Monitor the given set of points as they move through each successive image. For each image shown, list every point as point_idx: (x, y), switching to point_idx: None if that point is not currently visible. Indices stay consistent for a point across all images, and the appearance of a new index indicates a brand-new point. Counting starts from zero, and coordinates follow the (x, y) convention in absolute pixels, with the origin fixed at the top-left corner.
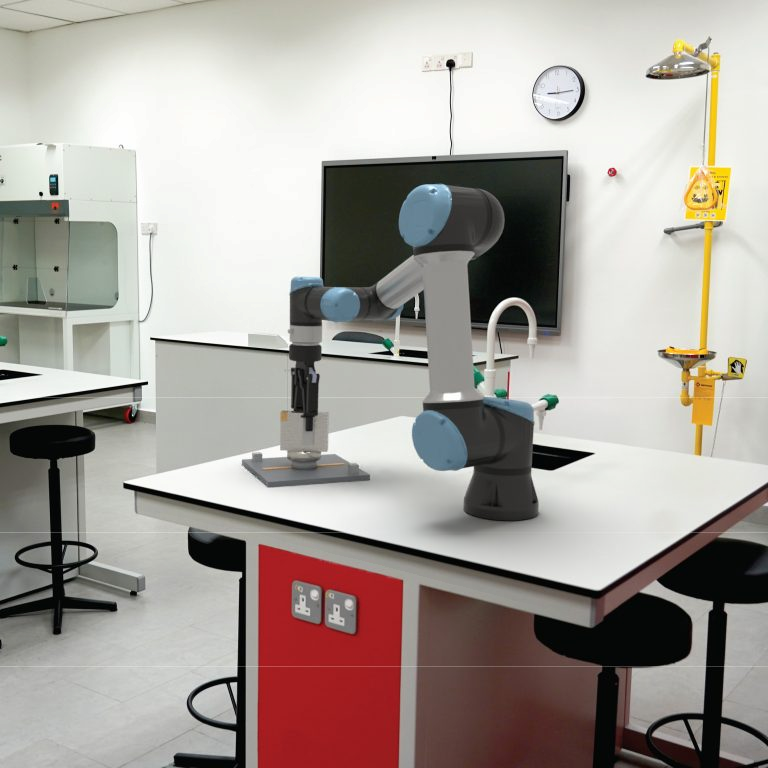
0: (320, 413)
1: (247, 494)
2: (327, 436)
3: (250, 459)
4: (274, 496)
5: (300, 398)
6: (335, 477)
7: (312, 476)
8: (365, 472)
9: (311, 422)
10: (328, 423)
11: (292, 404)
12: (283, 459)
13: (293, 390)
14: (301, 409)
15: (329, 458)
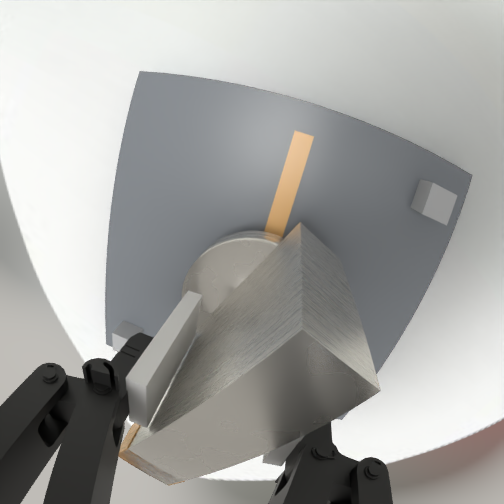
0: (325, 420)
1: (348, 441)
2: (340, 281)
3: (110, 331)
4: (394, 419)
5: (103, 489)
6: (429, 282)
7: (379, 329)
8: (445, 162)
9: (326, 428)
10: (309, 281)
11: (66, 428)
12: (135, 267)
13: (25, 489)
14: (117, 412)
15: (187, 122)
